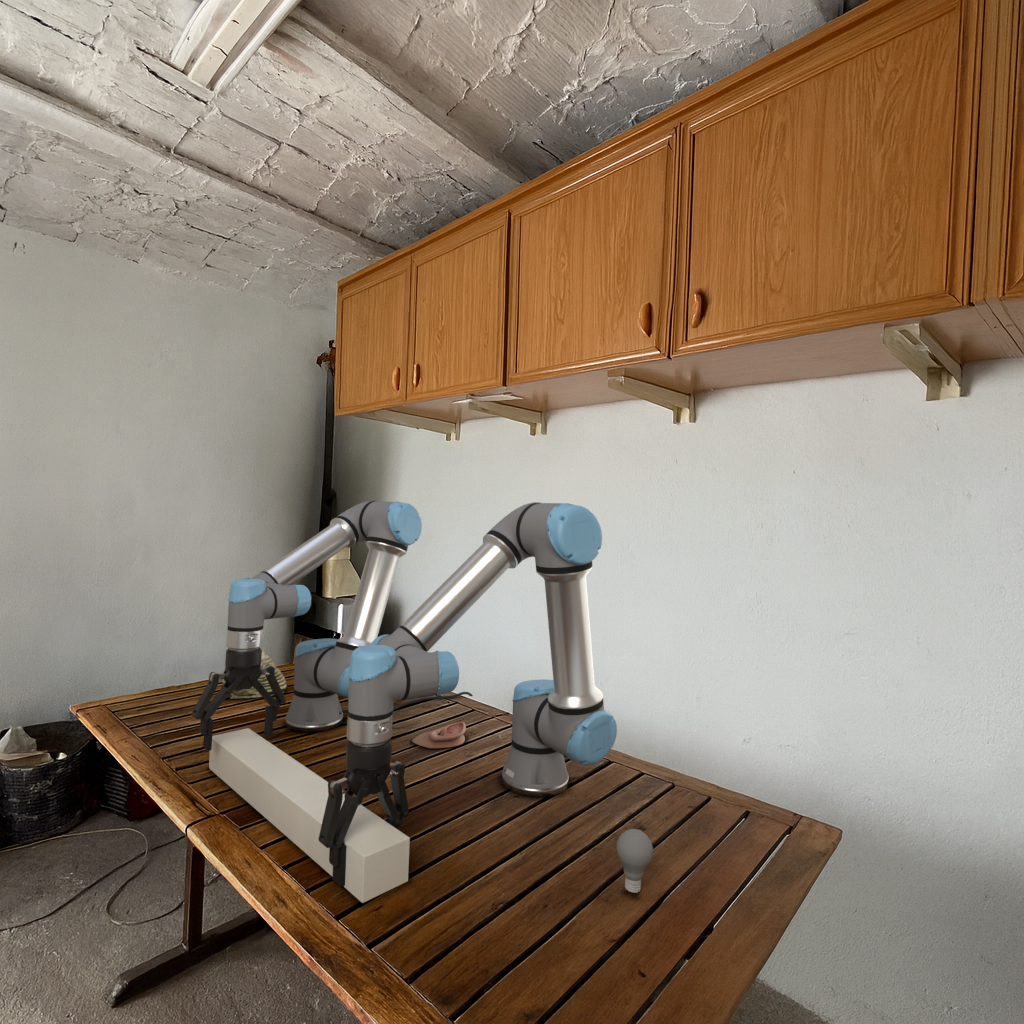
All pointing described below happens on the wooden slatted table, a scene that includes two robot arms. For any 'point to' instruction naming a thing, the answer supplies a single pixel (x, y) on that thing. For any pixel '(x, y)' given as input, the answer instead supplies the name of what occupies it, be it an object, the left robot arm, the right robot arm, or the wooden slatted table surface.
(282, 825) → the long square beam
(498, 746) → the wooden slatted table surface
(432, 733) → the anatomical model
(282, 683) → the fossil
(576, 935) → the wooden slatted table surface
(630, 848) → the light bulb
